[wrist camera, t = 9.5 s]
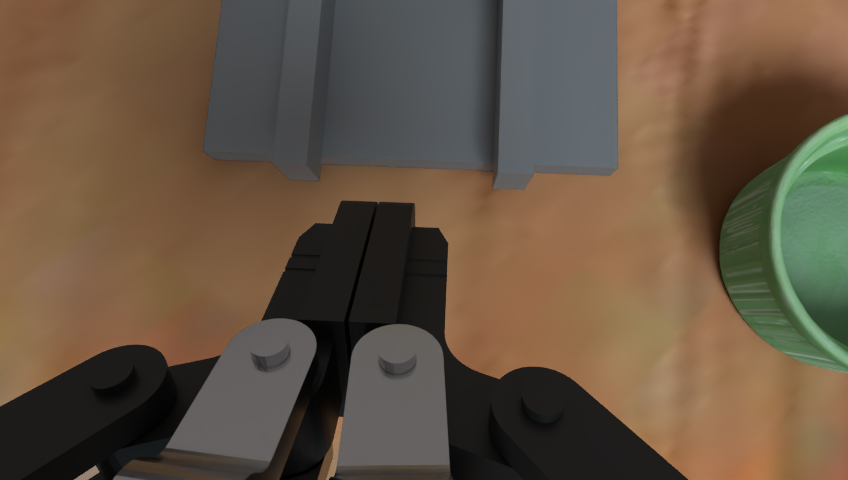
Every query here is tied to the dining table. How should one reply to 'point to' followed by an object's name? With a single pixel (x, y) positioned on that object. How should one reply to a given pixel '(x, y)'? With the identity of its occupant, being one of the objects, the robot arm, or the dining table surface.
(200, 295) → the dining table surface
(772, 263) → the ramekin
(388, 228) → the robot arm
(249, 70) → the mount
